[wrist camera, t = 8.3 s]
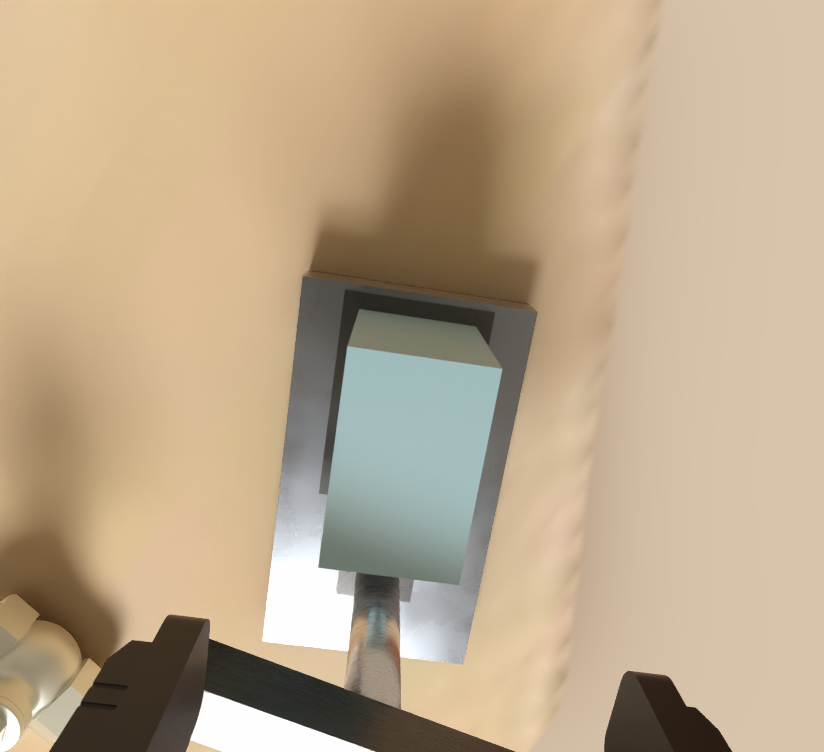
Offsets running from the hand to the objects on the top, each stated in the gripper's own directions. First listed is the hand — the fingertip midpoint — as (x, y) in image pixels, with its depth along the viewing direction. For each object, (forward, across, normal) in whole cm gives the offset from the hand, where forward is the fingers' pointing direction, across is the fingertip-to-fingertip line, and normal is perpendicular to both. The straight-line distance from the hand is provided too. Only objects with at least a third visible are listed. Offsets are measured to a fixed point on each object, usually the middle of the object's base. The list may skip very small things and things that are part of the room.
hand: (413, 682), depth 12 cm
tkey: (+16, 0, +8) cm, 18 cm away
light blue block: (+16, 0, 0) cm, 17 cm away
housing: (+19, 0, +4) cm, 19 cm away
